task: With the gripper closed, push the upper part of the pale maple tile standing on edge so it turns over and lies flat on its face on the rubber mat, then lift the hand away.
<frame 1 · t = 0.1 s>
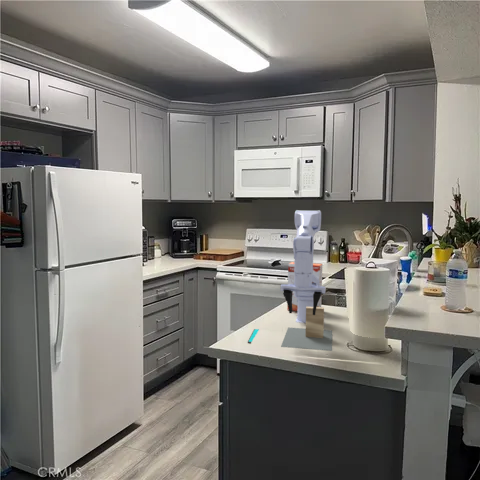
hand: (302, 313, 137), 10 cm above the worktop, tool pointing down, fingers open, 7 cm apart
rubber mat: (308, 339, 142), on the worktop
cracker box: (304, 311, 181), on the worktop
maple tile: (314, 336, 144), resting on rubber mat
smartphone: (261, 338, 144), on the worktop
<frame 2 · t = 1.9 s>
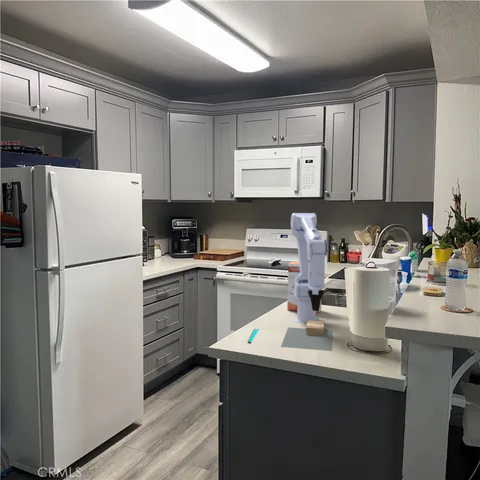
hand: (315, 310, 149), 8 cm above the worktop, tool pointing down, fingers closed
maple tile: (314, 331, 145), point 2 cm above the worktop, tilted 90°, touching rubber mat
everything else where it was.
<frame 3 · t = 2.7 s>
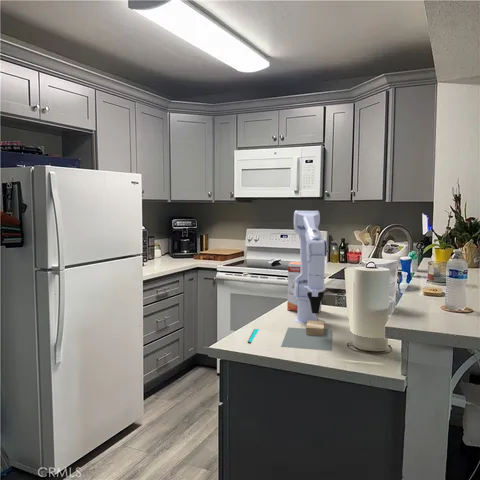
hand: (315, 313, 145), 8 cm above the worktop, tool pointing down, fingers closed
nothing on the worktop moved.
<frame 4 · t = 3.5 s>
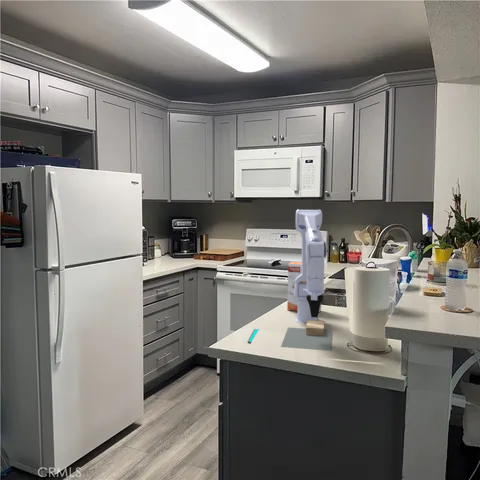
hand: (314, 316, 140), 8 cm above the worktop, tool pointing down, fingers closed
nothing on the worktop moved.
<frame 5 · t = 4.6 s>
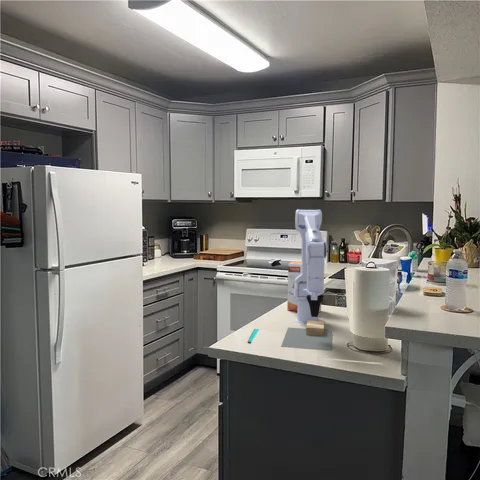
hand: (314, 316, 141), 8 cm above the worktop, tool pointing down, fingers closed
nothing on the worktop moved.
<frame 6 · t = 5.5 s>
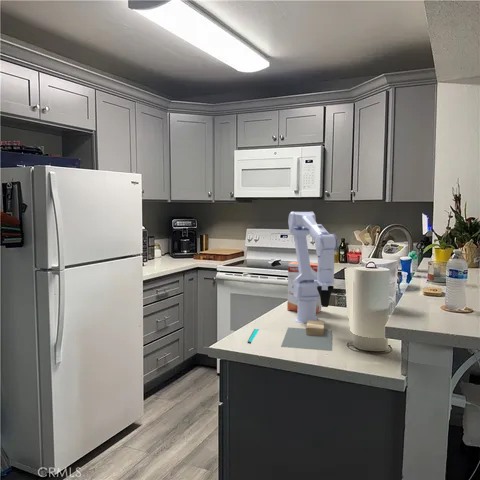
hand: (324, 306, 147), 10 cm above the worktop, tool pointing down, fingers closed
nothing on the worktop moved.
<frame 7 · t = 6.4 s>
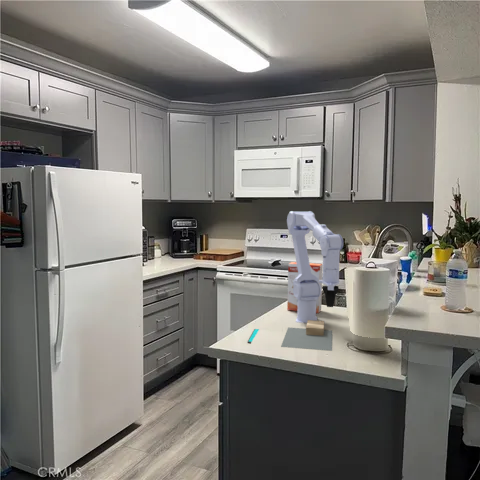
hand: (330, 306, 147), 10 cm above the worktop, tool pointing down, fingers closed
nothing on the worktop moved.
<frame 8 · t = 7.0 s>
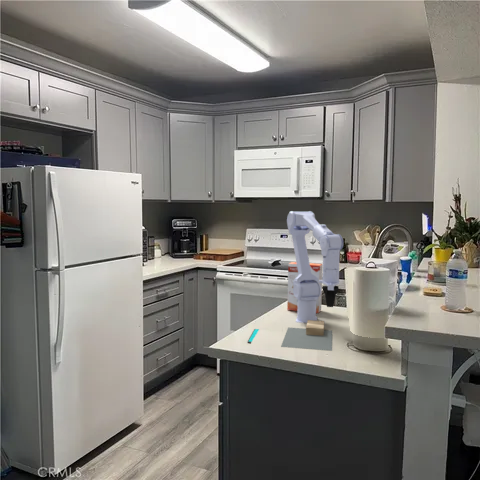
hand: (330, 306, 147), 10 cm above the worktop, tool pointing down, fingers closed
nothing on the worktop moved.
at the end: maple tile tilted 90°; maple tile inside the target area (2.9 cm from its centre), point 1.7 cm above the worktop; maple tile touching rubber mat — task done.
